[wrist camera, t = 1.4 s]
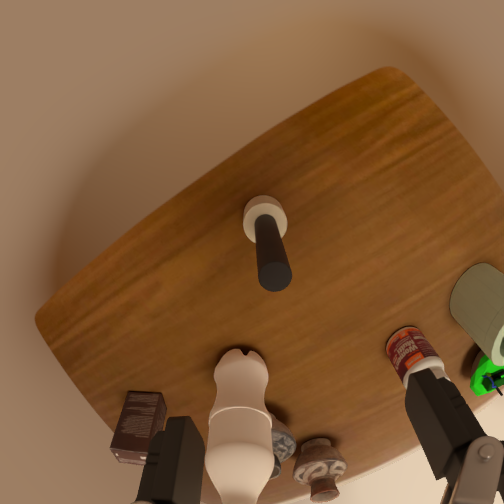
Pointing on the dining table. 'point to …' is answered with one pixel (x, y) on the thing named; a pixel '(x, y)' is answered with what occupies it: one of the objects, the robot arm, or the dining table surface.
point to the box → (138, 426)
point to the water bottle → (240, 429)
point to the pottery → (308, 462)
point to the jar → (481, 308)
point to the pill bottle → (413, 354)
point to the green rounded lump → (486, 375)
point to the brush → (268, 241)
